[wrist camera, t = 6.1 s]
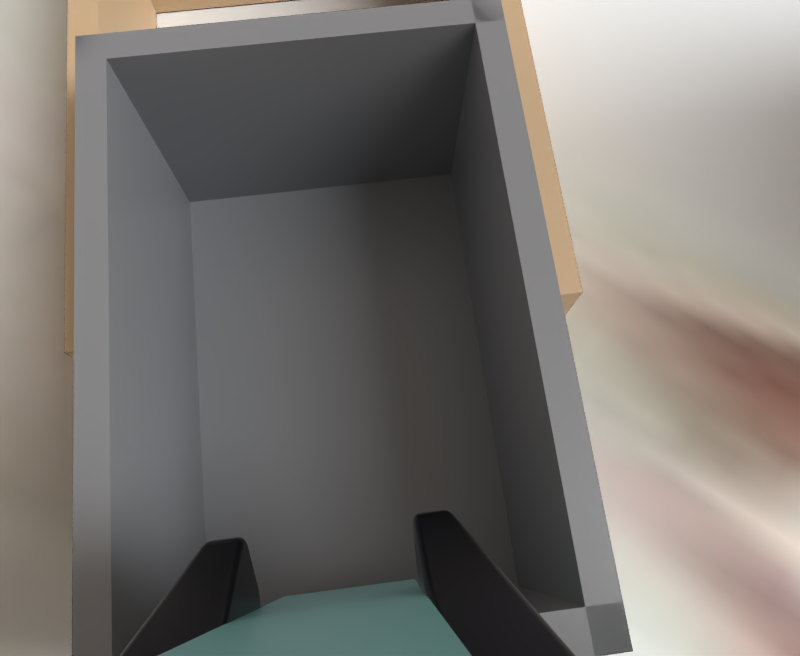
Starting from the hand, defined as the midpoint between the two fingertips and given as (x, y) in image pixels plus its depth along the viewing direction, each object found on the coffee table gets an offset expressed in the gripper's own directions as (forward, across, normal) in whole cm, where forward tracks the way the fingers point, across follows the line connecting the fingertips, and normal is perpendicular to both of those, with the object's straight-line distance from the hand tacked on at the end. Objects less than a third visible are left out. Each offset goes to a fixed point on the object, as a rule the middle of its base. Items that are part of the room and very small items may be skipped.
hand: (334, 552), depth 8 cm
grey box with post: (+8, 0, +2) cm, 9 cm away
